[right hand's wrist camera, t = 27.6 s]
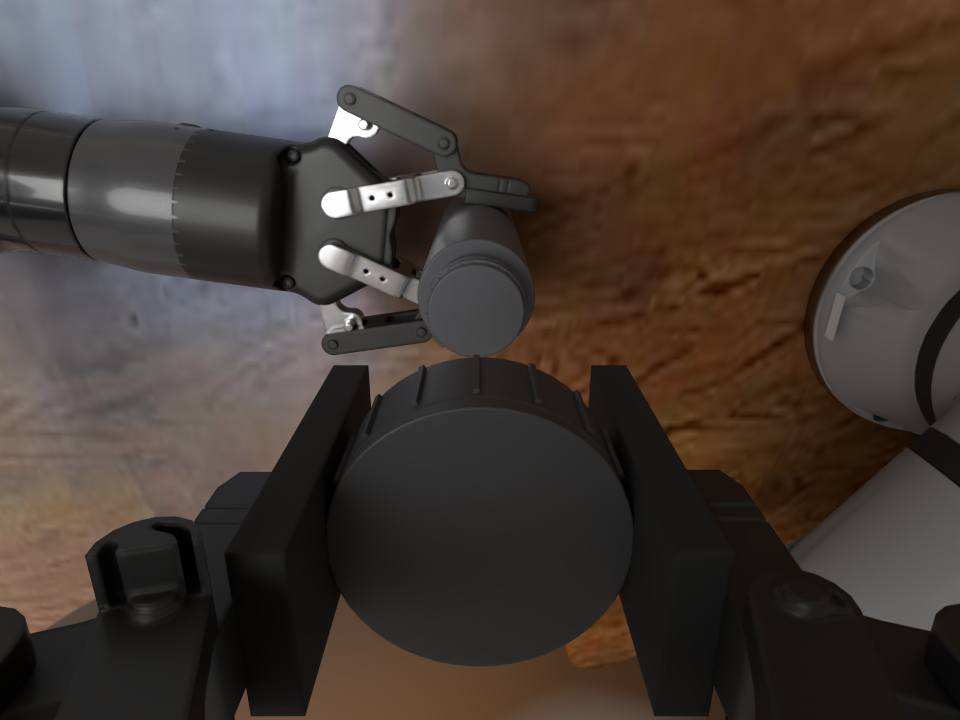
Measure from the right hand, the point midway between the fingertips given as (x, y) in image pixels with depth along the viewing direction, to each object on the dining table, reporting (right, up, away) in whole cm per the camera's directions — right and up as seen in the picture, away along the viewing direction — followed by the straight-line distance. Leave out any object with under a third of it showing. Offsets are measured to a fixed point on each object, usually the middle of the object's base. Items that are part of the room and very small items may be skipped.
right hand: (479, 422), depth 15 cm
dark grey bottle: (0, +10, +26) cm, 27 cm away
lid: (0, -1, -4) cm, 4 cm away
